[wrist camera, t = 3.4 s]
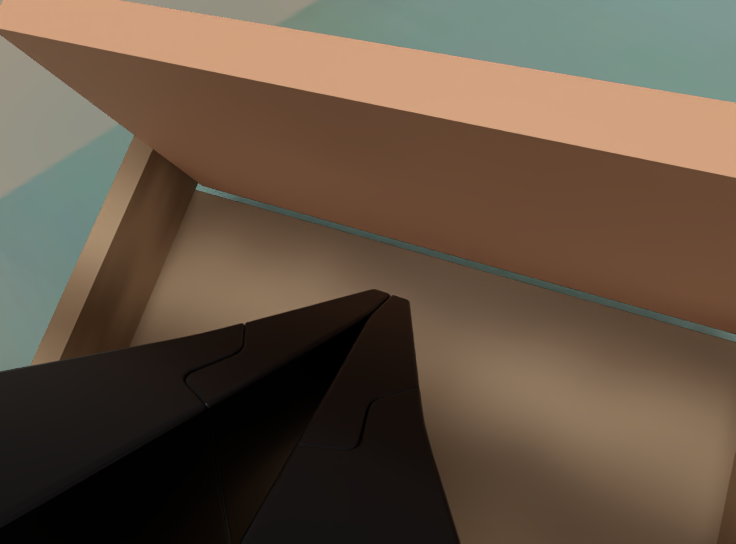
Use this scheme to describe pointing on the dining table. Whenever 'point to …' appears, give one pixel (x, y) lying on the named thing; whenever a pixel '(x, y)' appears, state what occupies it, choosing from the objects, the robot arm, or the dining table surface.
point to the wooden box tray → (441, 362)
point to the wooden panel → (422, 145)
